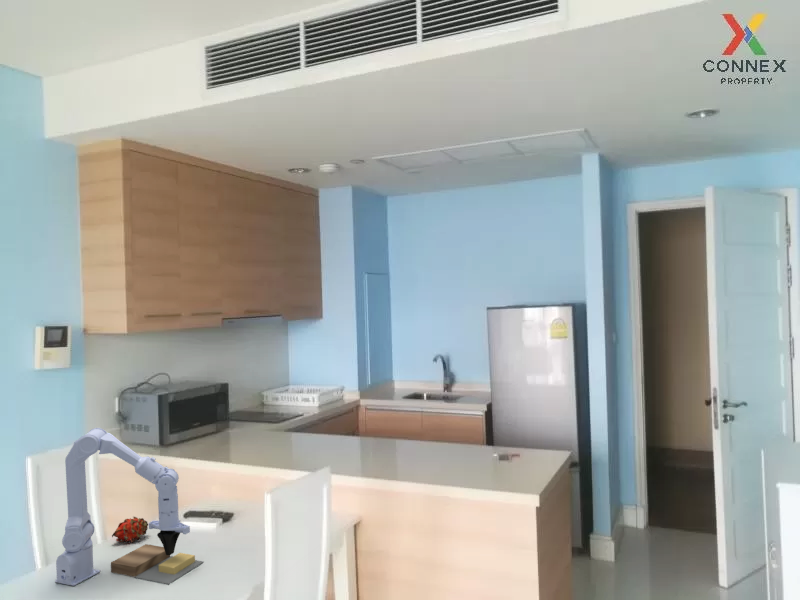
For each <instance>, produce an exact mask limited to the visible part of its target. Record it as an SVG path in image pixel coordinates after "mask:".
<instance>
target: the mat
mask: <svg viewBox="0 0 800 600" xmlns="http://www.w3.org/2000/svg"><path fill="white" fill-rule="evenodd" d="M173 556H174V555H170V557H168V558H167V559H165V560H163V561H161V562H160V563H158V564H156V565H155V566H153V567H151V568H149V569H148V570H146V571H144V572H142V573H141V574H139V575H137V576H135V577H134V579H137V580H142V581H146V582H147V581H148V582H152V583H157V584H163V585H168V586H169V585H171V584H173V583H174V582H176V581H177V580H178V579H180V578H181V577H183V576H185V575H186V574H188V573H189V572H191V571H193V570H194V569H196V568H197V567H199V566H201V565H202V564H204V562H205V561H201V560H198V559H195V562H194V563H192V564H190V565H189V566H187V567H186V568H184V569H182V570H181V571H179V572H178V573H176V574H169V573H164V572H159V565H160V564H161V563H163V562H165V561H166V560H168V559H170V558H172V557H173ZM170 583H171V584H170Z"/></svg>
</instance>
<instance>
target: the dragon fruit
mask: <svg viewBox="0 0 800 600" xmlns="http://www.w3.org/2000/svg"><path fill="white" fill-rule="evenodd" d="M148 529H149V522H148V521H147V520H145V518H143V517H142V518H140V517H139V518H138V517H137V516H133V517H132V518H131V517H130V518H125V519H124V520H123V521H122V522H119V524H118V526H117V528H116V529H115V531H114V532H113V534H112V535H111V538H116V539H115V541H116V542H118V543H121V542H123V543H127V542H130V543H133V542H135V541H137V540H140V538H141V537H142V536H143V535H147V531H148Z"/></svg>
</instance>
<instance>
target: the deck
mask: <svg viewBox="0 0 800 600" xmlns="http://www.w3.org/2000/svg"><path fill="white" fill-rule="evenodd" d="M170 556H171V555H166V553H165V550H164V547H163V546H159V545H153V544H148V543H145V544H143V545H141V546H139V547H138V548H136V549H133V550H132V551H130V552H129V553H126V554H125V555H122V556H121V557H118V558H116V559H115V560H113V561H111V562H110V572H111V573H114V574H117V575H123V576H129V577H133V578H135V576H137V575H139V574H141V573H142V572H144V571H146V570H148V569H149V568H151V567H153V566H155V565H156V564H158V563H160V562H161V561H163V560H165V559H167V558H168V557H170Z"/></svg>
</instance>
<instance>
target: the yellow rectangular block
mask: <svg viewBox="0 0 800 600" xmlns="http://www.w3.org/2000/svg"><path fill="white" fill-rule="evenodd" d="M172 556H173V557H172V558H170V559H168V560H166V561H165V562H163V563H161V564H160V565H159V572H164V573H169V574H176V573H178V572H179V571H181V570H182V569H184V568H186V567H187V566H189V565H190V564H192V563H194V562H195V560H196V556H195V555H194V554H189V553H183V552H178V553H177V554H176V555H172Z"/></svg>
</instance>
